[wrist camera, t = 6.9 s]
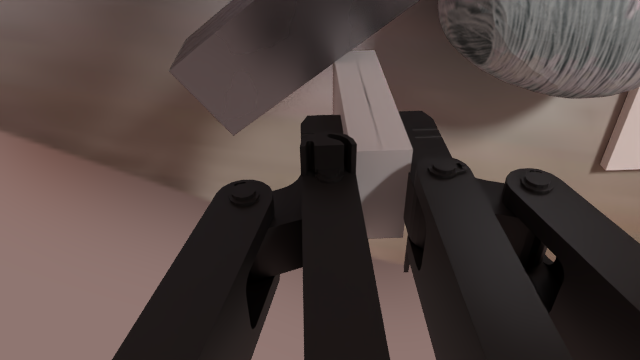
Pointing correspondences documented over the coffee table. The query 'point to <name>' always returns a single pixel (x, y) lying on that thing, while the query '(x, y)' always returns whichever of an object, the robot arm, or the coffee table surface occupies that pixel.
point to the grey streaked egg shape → (550, 43)
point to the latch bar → (272, 50)
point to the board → (625, 137)
